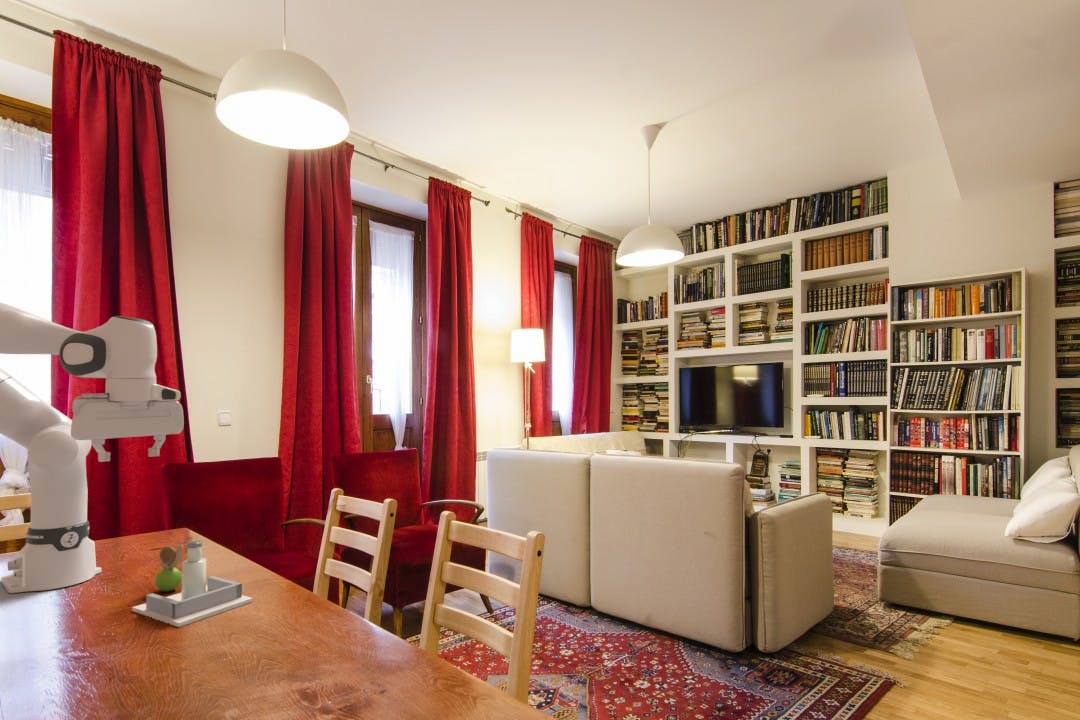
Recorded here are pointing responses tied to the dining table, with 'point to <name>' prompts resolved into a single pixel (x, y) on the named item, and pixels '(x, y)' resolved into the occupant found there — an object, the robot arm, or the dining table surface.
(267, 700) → the dining table surface
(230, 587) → the u stand
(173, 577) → the snail figurine
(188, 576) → the pale green bottle
